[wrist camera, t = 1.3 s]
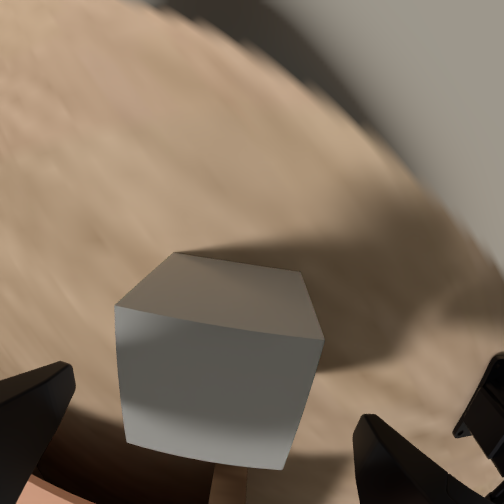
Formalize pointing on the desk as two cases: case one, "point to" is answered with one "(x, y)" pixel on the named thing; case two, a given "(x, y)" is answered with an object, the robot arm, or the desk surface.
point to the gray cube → (216, 360)
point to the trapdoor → (47, 494)
